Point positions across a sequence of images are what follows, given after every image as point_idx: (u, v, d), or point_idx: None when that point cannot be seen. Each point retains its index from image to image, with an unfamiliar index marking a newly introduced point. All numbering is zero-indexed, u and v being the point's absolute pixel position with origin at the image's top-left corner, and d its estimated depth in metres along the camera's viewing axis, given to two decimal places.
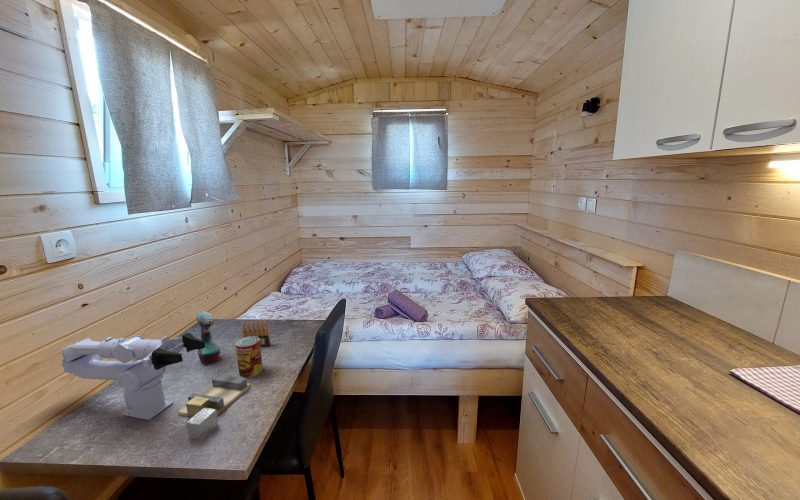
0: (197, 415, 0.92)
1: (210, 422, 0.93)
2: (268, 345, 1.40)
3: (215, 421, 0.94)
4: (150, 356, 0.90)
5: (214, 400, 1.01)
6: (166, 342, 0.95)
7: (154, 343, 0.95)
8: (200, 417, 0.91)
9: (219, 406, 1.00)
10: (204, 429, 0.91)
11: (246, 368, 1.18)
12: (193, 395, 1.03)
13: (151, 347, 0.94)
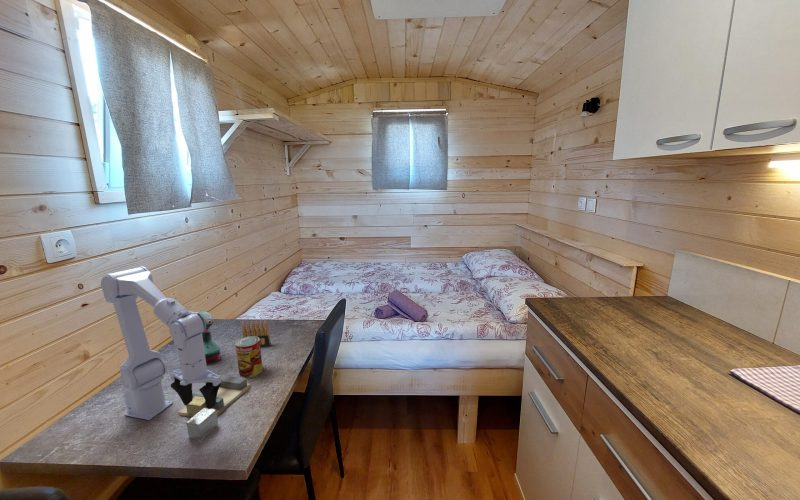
0: (197, 415, 0.92)
1: (210, 422, 0.93)
2: (268, 345, 1.40)
3: (215, 421, 0.94)
4: None
5: None
6: None
7: (182, 371, 0.87)
8: (200, 417, 0.91)
9: (219, 406, 1.00)
10: (204, 429, 0.91)
11: (246, 368, 1.18)
12: (193, 395, 1.03)
13: (181, 368, 0.88)
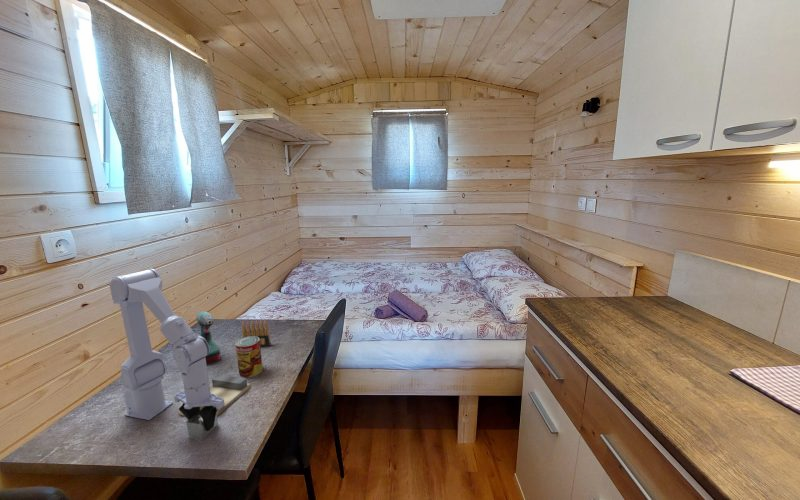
0: (197, 415, 0.92)
1: None
2: (268, 345, 1.40)
3: (215, 421, 0.94)
4: None
5: None
6: None
7: (185, 394, 0.88)
8: (200, 416, 0.91)
9: None
10: (204, 429, 0.91)
11: (246, 368, 1.18)
12: None
13: (185, 392, 0.89)
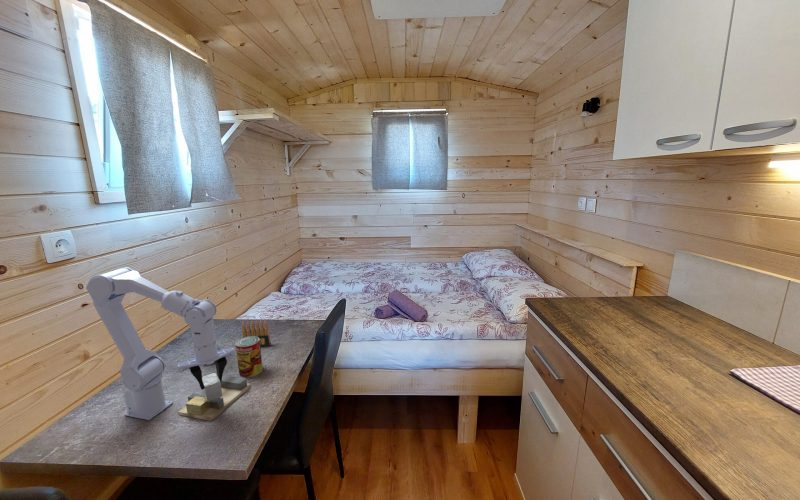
0: (205, 381, 0.99)
1: None
2: (268, 345, 1.40)
3: None
4: None
5: (214, 400, 1.01)
6: None
7: (203, 353, 0.95)
8: (211, 379, 0.99)
9: (219, 406, 1.00)
10: None
11: (246, 368, 1.18)
12: (193, 395, 1.03)
13: (199, 353, 0.95)
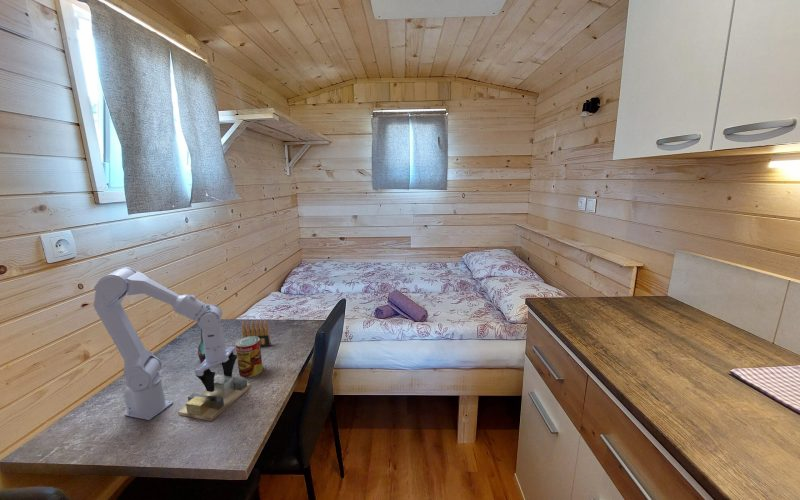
0: (217, 381, 1.06)
1: None
2: (268, 345, 1.40)
3: None
4: None
5: (214, 400, 1.01)
6: None
7: (219, 353, 1.03)
8: (221, 379, 1.07)
9: (219, 406, 1.00)
10: None
11: (246, 368, 1.18)
12: (193, 395, 1.03)
13: (215, 354, 1.03)
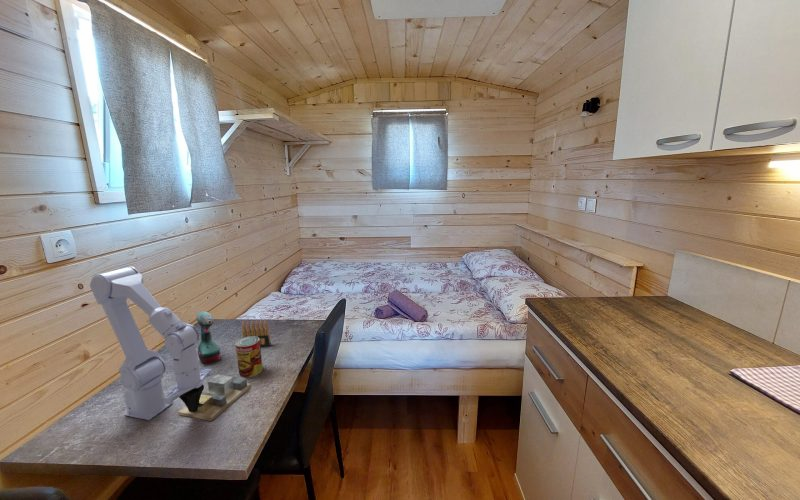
0: (217, 381, 1.06)
1: None
2: (268, 345, 1.40)
3: None
4: None
5: (217, 397, 1.02)
6: None
7: (191, 378, 0.94)
8: (221, 379, 1.07)
9: (222, 404, 1.01)
10: None
11: (246, 368, 1.18)
12: None
13: (187, 379, 0.93)
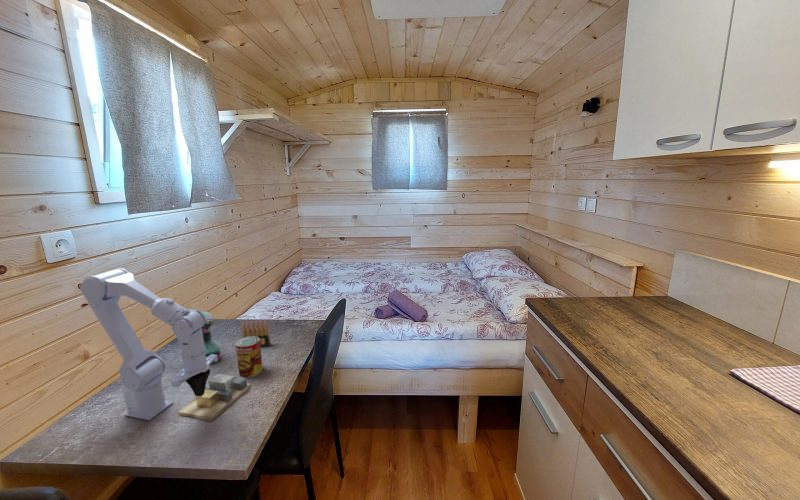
0: (218, 380, 1.06)
1: None
2: (268, 345, 1.40)
3: None
4: None
5: (223, 393, 1.04)
6: None
7: (198, 362, 0.96)
8: (223, 378, 1.08)
9: (227, 399, 1.04)
10: None
11: (246, 368, 1.18)
12: None
13: (194, 363, 0.95)
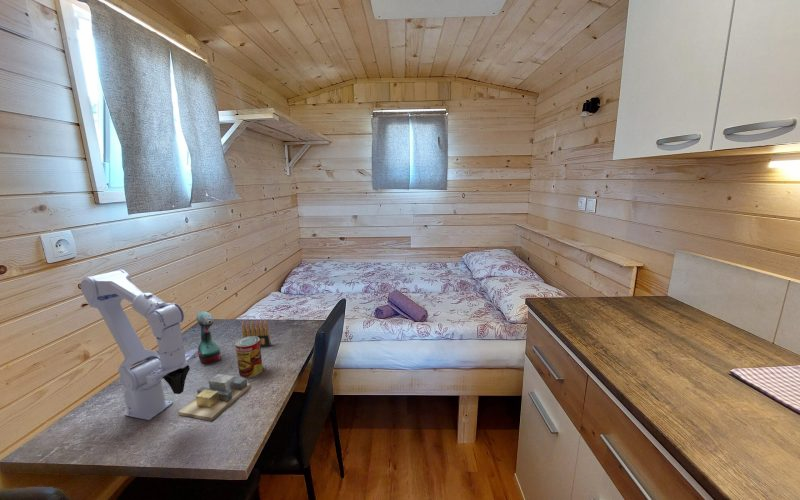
0: (218, 380, 1.06)
1: None
2: (268, 345, 1.40)
3: None
4: None
5: (223, 393, 1.04)
6: None
7: (176, 358, 0.91)
8: (223, 378, 1.08)
9: (227, 399, 1.04)
10: None
11: (246, 368, 1.18)
12: (202, 388, 1.06)
13: (171, 359, 0.90)
